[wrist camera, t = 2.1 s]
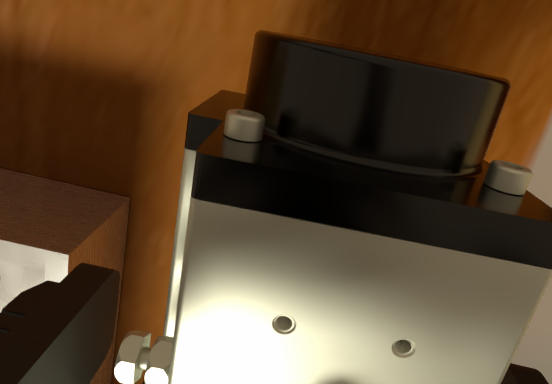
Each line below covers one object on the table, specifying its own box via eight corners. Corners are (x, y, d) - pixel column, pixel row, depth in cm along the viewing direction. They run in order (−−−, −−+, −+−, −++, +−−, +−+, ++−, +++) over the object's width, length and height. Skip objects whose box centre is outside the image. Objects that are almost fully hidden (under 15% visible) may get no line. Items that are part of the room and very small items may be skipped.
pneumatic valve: (410, 56, 15) (733, 129, 4) (332, 331, 19) (370, 766, 8) (252, 25, 15) (80, 0, 4) (208, 306, 19) (65, 706, 8)
